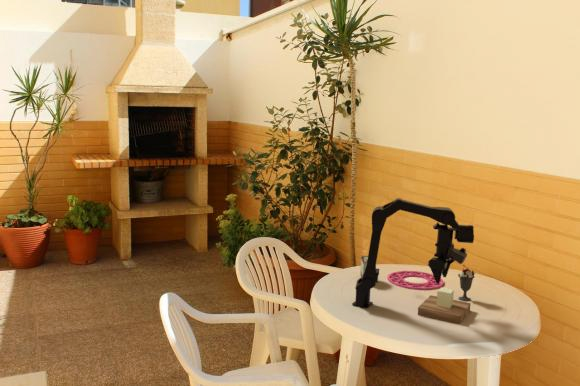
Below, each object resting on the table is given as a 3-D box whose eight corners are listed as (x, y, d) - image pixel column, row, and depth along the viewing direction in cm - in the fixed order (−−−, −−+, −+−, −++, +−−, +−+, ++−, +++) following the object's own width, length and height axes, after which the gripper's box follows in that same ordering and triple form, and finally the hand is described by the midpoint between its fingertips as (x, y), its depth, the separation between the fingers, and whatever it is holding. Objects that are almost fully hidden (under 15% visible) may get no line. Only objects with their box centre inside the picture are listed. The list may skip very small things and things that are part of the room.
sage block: (449, 308, 216) (450, 293, 215) (436, 305, 219) (437, 290, 218) (452, 304, 220) (454, 289, 219) (440, 301, 223) (441, 287, 222)
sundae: (454, 300, 234) (457, 265, 232) (458, 295, 240) (460, 261, 238) (471, 303, 231) (474, 267, 229) (474, 298, 237) (477, 263, 235)
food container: (376, 284, 251) (377, 263, 249) (362, 284, 251) (363, 262, 249) (373, 276, 263) (374, 255, 261) (360, 275, 263) (361, 255, 261)
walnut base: (459, 323, 209) (460, 316, 209) (417, 314, 217) (418, 307, 217) (470, 310, 223) (470, 303, 222) (429, 302, 231) (430, 295, 230)
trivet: (395, 290, 245) (395, 288, 245) (381, 272, 270) (381, 270, 270) (451, 290, 247) (451, 288, 247) (433, 272, 272) (433, 270, 271)
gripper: (459, 249, 205) (455, 291, 207) (471, 239, 220) (468, 278, 223) (429, 244, 210) (426, 284, 213) (443, 235, 226) (440, 272, 229)
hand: (441, 280), depth 219 cm, fingers open, 9 cm apart
